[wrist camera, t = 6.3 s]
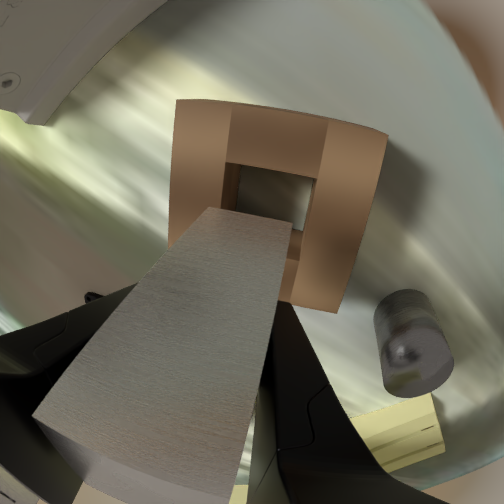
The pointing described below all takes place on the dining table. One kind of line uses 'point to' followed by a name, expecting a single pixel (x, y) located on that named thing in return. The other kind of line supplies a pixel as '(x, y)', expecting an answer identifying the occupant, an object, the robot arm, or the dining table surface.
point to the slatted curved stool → (392, 436)
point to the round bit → (411, 345)
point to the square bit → (175, 368)
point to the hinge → (57, 47)
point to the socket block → (286, 160)
